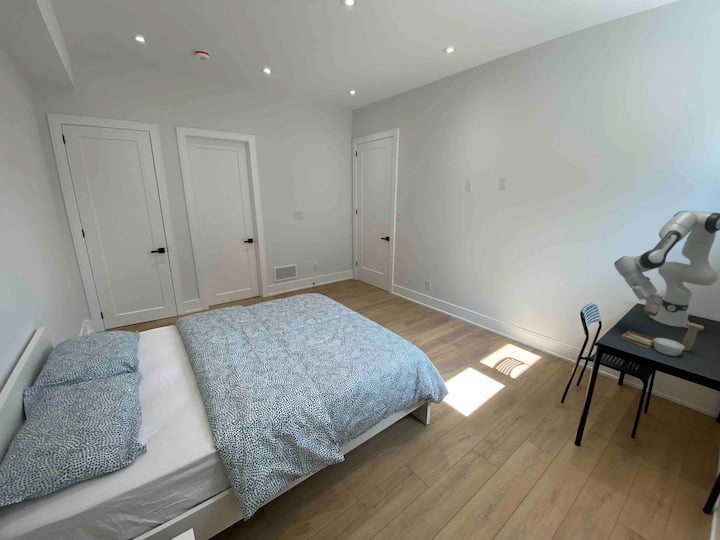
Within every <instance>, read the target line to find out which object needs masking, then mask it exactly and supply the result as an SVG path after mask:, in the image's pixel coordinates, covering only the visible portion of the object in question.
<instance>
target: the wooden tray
mask: <svg viewBox="0 0 720 540" xmlns="http://www.w3.org/2000/svg"><path fill="white" fill-rule="evenodd" d="M620 339H621V340H623V341H626V342H629V343H631V344H634V345H636V346H640V347H642V348H646V349H650V348H651V347H652V346H654V339H655V338H654V337H651V336H649V335H645V334H642V333H639V332H636V331H634V330H628V331H626V332H624V334H622V335H620Z"/></svg>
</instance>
